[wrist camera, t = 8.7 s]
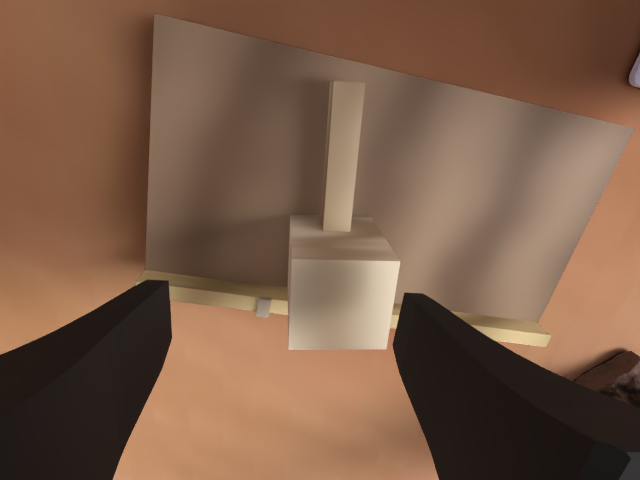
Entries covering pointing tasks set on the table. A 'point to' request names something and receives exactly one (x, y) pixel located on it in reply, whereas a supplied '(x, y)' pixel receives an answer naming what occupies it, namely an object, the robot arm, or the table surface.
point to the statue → (616, 378)
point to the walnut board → (362, 179)
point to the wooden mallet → (340, 250)
